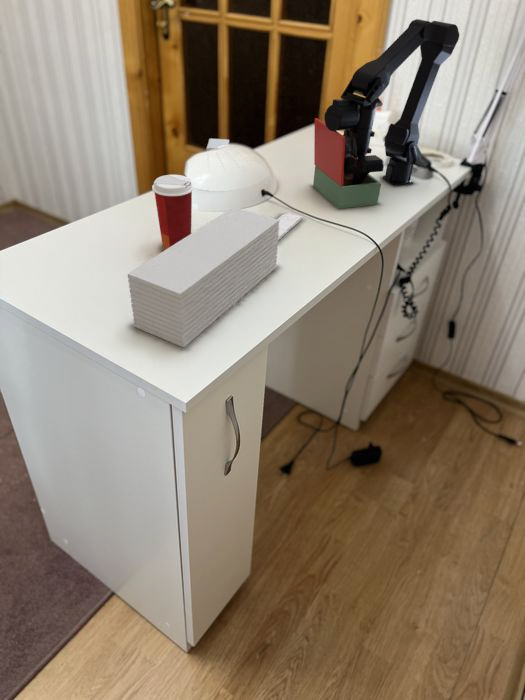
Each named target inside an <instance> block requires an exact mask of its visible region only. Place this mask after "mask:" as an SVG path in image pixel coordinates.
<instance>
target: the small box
mask: <svg viewBox="0 0 525 700" xmlns="http://www.w3.org/2000/svg"><path fill="white" fill-rule="evenodd" d="M230 141H231V140H230V139H226V138H209V139H208V143H207V146H206V148H205V151H208V150H210V149H214V148H215V147H217V148H218V146H221V145H227V144H231V143H230Z"/></svg>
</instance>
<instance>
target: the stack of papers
mask: <svg viewBox="0 0 525 700" xmlns="http://www.w3.org/2000/svg"><path fill="white" fill-rule="evenodd" d="M277 219H278V218H277ZM277 219H276V218H274V217H270V216H266V215H263V214H260V213H256V212H252V211H250V210H246V209H242V208H240V207H236V206H232V207H231V208H230V209H228V210H226V211H225V212H223V213H221V214H220V215H218V216H216V217H215V218H213V219H212V220H210V221H209V222H207V223H206V224H204V225H202V226H201V227H199V228H198V229H196V230H194V231H192V232H191V234H190V235H188V236H187V237H185V238H184V239H182V240H180V241H179V242H177V243H176V244H174V245H173V246H171V247H169V248H168V249H166V250H165V251H164V250H163V251H161V252H160V253H158V254H157V255H155V256H153V257H152V258H150V259H149V260H147V261H145V262H144V263H142V264H141V265H139V266H138V267H136V268H135V269H133V270H132V271H130V272H128V273H127V279H128V288H129V294H130V295H129V296H130V302H131V308H132V310H131V311H132V317H133V325H134V327H135V328H137V329H139V330H142V331H143V332H146V333H149V334H151V335H154V336H155V337H159V338H160V339H163V340H165V341H167V342H170V343H172V344H174V345H177V346H179V347H181V348H185V347H186V346H187V345H189V344H190V343H191V342H192V341H193V340H194V339H196V338H197V337H198V336H199V335H200V334H201V333H203V332H204V330H206V329H207V328H208V327H210V326H211V325H212V324H213V323H214V322H215V321H216V320H218V319H219V318H220V317H221V316H222V315H223V314H224V313H225V312H227V311H228V310H230V308H232V306H234V305H235V304H236V303H237V302H239V300H240V299H242V298H243V297H244V296H245V295H246V294H248V293H249V292H250V291H251V290H252V289H253V288H254V287H256V286H257V285H258V284H259V283H260V282H261V281H263V280H264V279H265V278H267V276H268V275H270V274H271V273H272V272H273V271H275V269H277V261H278V260H277V259H278V246H279V245H278V244H279V243H278V242H279V240H278V239H277V238H278V232H279V230H278V229H279V220H277Z"/></svg>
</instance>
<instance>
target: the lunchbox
mask: <svg viewBox="0 0 525 700" xmlns="http://www.w3.org/2000/svg"><path fill="white" fill-rule="evenodd" d="M313 173H314V174H313V184H312V187H313V188H314V189H316V190H317V192H319V193H320V194H321V195H322V196H324V197H325V198H326V199H327V200H328V201H329V202H330V203H332V205H334V206H335V208H337V209H338V210H343V209H350V208H357V207H365V206H366V207H367V206H373V205H378V203H379V197H380V193H381V187H382V182H381V181H379V180H378V179H376V178H375V177H374V176H373V175H371V174H370V173H369V174H368V175H367V176H366V177H365V179H364V182H363V184H359V185H350V186H340V185H339V184H338V183H336V182H335V181H334V180H333V179H331V178H330V177H329V176H328V175H327V174H325V173H324V172H323V171H322V170H320V169H319V168H318V167H317V166H315V165H314V172H313Z"/></svg>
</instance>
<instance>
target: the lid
mask: <svg viewBox="0 0 525 700" xmlns="http://www.w3.org/2000/svg"><path fill="white" fill-rule="evenodd" d="M313 141H314V147H313V148H314V150H313V152H314V156H313V157H314V158H313V159H314V161H313V164H314V167H315V166H317V167H318V168H319V169H320V170H322V171H323V172H324V173H325V174H327V175H328V176H329V177H330V178H331V179H333V180H334V181H335V182H336V183H338V184H339V185H340V186H343V176H344V152H345V137H344V136H343V134H342V133H340V132H338V131H330V130H329V129H328V128H327V126H326V124H325V122H323V121H322V120H321V119H319V118H317V117H314V140H313Z"/></svg>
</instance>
